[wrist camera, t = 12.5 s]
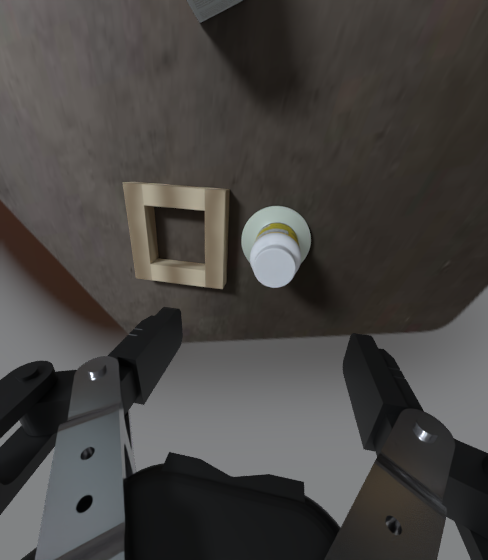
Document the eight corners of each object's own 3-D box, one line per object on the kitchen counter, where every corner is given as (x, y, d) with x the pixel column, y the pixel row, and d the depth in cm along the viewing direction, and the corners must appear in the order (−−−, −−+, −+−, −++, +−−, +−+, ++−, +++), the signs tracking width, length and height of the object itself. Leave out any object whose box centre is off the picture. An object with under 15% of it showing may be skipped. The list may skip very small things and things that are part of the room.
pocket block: (229, 189, 30) (225, 190, 28) (226, 281, 36) (222, 289, 33) (134, 181, 32) (122, 182, 30) (145, 271, 37) (136, 278, 35)
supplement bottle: (296, 262, 32) (300, 297, 23) (255, 260, 33) (244, 292, 24) (300, 221, 30) (306, 242, 21) (256, 220, 30) (245, 239, 22)
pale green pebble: (316, 208, 30) (316, 209, 29) (304, 275, 33) (304, 277, 33) (244, 202, 31) (243, 203, 30) (240, 267, 34) (239, 270, 34)
